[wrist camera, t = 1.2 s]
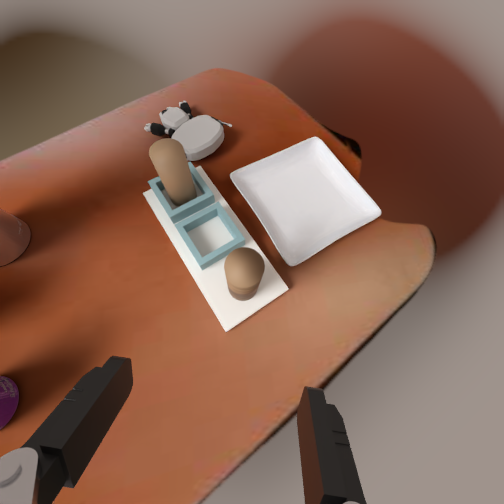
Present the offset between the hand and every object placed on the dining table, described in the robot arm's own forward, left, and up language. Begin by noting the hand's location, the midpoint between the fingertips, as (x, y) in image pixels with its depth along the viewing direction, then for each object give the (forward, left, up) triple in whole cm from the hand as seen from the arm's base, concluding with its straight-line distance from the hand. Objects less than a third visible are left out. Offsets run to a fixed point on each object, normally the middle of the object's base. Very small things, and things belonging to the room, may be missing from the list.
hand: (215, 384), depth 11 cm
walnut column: (+7, +7, -25) cm, 27 cm away
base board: (+7, +17, -27) cm, 33 cm away
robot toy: (+15, +40, -27) cm, 51 cm away
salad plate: (+26, +15, -27) cm, 41 cm away
